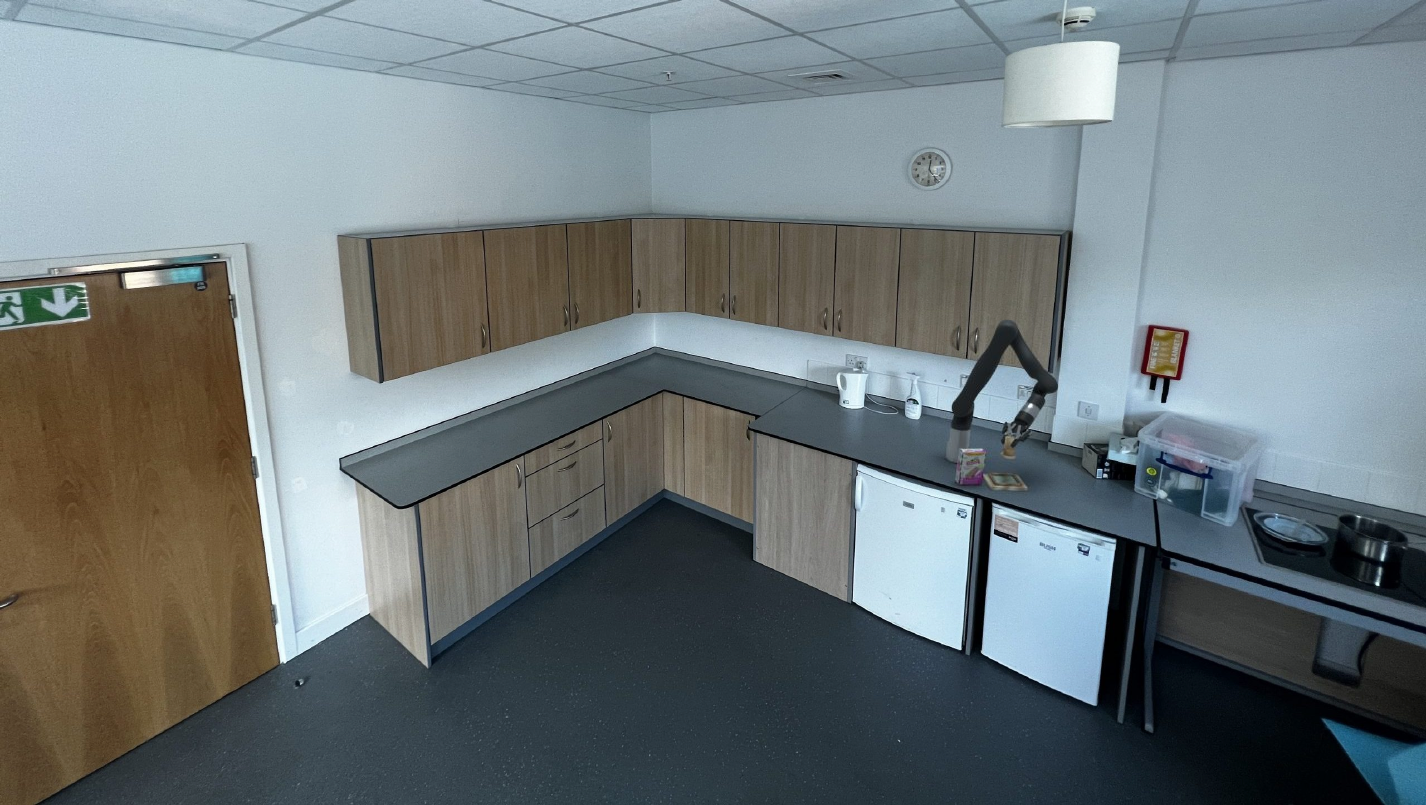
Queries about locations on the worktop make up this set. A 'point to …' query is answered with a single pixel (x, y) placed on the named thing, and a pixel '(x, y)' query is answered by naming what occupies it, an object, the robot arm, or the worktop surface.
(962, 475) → the candy bar box
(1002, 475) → the picture frame
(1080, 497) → the worktop surface
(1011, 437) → the beech bobbin
